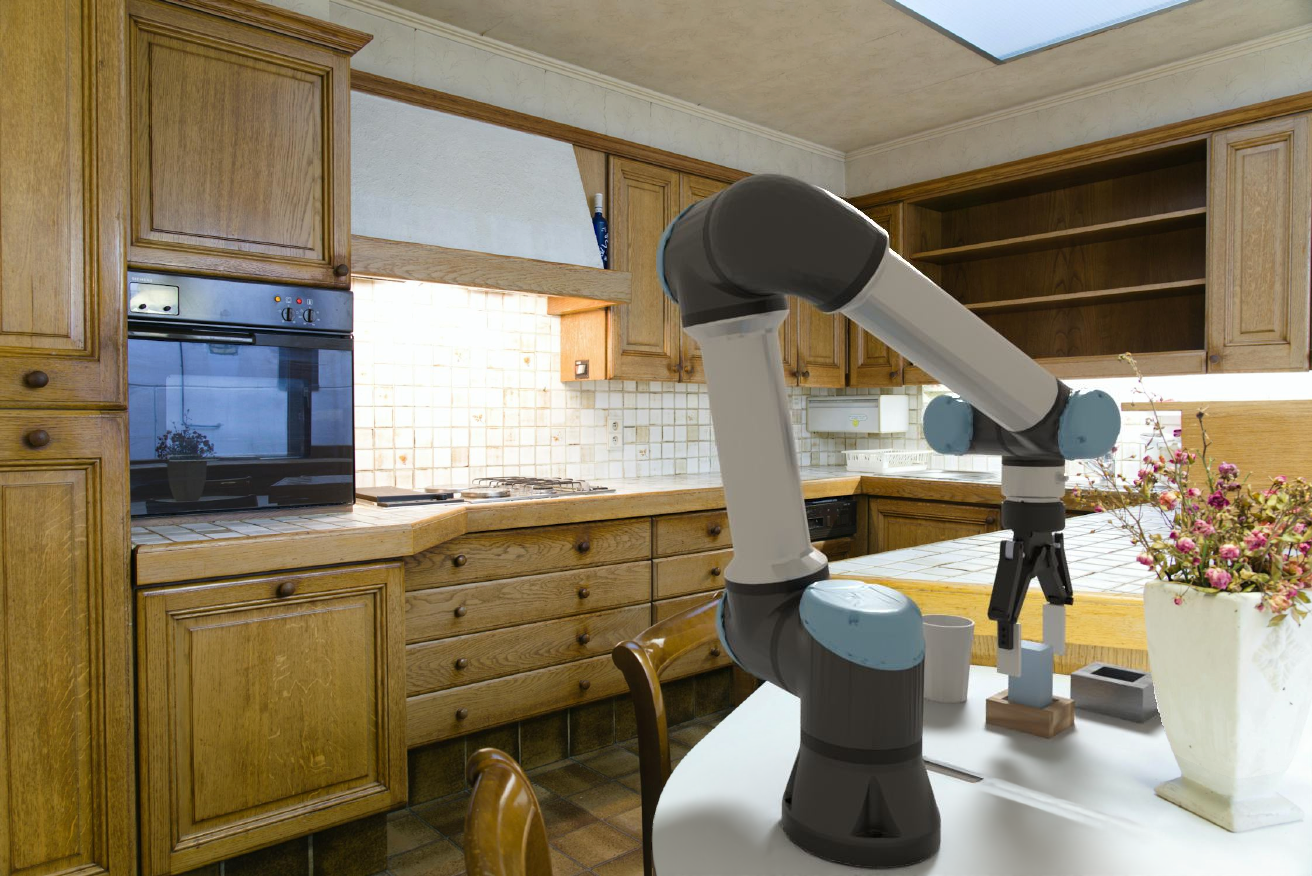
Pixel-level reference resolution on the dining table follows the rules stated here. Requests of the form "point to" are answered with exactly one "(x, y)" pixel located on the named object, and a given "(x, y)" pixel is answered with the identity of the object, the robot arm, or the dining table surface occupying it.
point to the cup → (947, 657)
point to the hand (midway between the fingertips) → (1032, 663)
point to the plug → (1033, 676)
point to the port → (1114, 691)
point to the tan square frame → (1030, 715)
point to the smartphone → (951, 772)
